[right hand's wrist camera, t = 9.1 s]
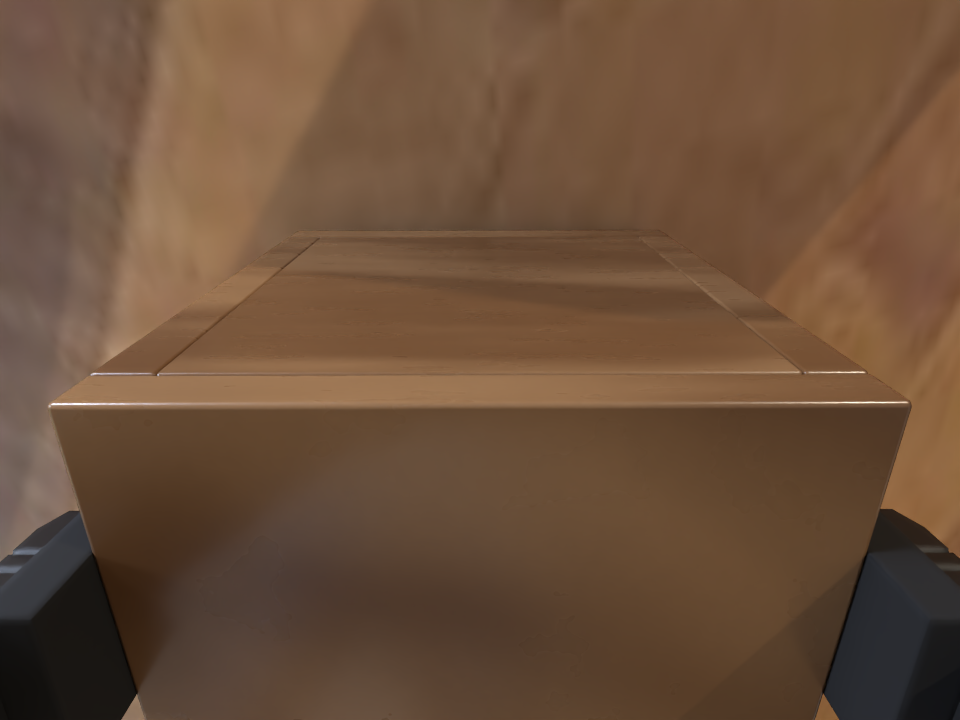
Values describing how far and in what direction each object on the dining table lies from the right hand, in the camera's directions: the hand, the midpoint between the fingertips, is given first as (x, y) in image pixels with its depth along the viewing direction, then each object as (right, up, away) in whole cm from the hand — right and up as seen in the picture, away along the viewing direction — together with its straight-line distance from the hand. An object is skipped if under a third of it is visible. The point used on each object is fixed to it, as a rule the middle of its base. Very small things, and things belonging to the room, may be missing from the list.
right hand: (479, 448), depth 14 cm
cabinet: (0, -4, +8) cm, 9 cm away
